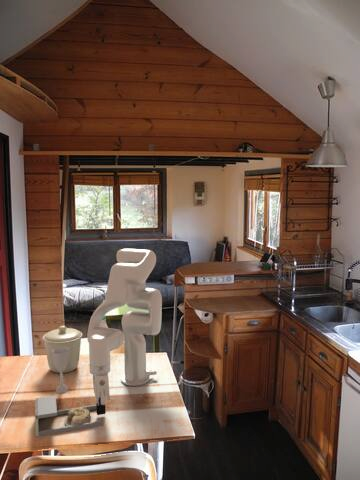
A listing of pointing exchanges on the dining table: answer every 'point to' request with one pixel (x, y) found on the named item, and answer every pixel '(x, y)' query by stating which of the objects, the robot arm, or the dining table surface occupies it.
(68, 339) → the canister
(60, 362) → the chalice
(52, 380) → the dining table surface
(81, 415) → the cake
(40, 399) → the low barrier
